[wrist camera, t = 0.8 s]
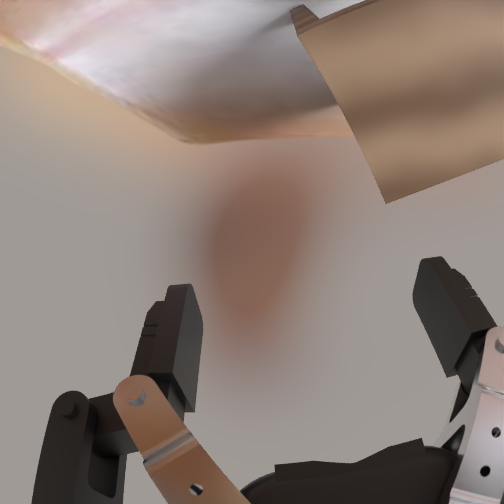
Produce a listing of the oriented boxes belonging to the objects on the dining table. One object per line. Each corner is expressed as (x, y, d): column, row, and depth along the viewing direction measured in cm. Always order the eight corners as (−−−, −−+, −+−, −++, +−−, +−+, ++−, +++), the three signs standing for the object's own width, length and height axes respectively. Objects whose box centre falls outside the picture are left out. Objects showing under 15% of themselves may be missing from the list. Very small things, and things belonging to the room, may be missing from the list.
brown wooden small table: (290, 10, 25) (297, 35, 13) (439, -43, 17) (556, -33, 5) (345, 102, 32) (385, 203, 20) (479, 53, 24) (583, 128, 12)
